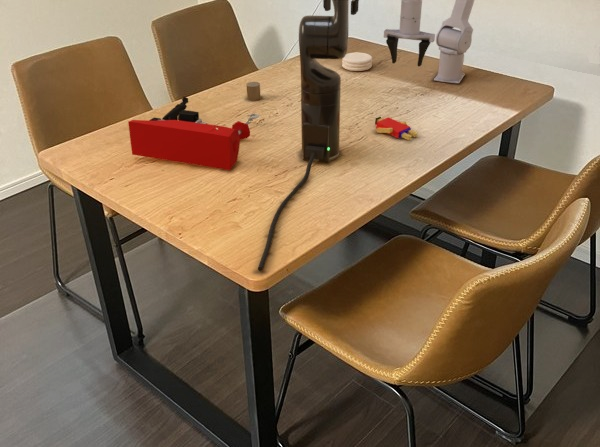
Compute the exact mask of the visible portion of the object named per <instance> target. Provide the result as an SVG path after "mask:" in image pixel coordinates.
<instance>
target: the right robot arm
mask: <svg viewBox="0 0 600 447" xmlns="http://www.w3.org/2000/svg"><path fill="white" fill-rule="evenodd" d="M400 1H401V2H400V15H399V17H400V19H399V29H390V28H389V29H388V28H385V29H384V30H383V38H386V40H385V43H386V45H387V47H388V50H389V53H390V56H391V57H390V58H391V62H392V64H396V63H397V60H398V44H399V40H400V39H401V40H412V41H419V43H418V58H417V67H421V66H422V64H423V60H424V57H425V55H426V53H427V50H428V49H429V47H430V45H431V44H432V43H434V42H435V43H436V45H437V46H438V50H439V60H438V69H437V74H436V76H435V77H434V78H433V81H434V82H441V83H449V84H457V85H458V84H460V83H461V81H462V80H463V79H464V77H465V75H466V73H464V72H463V68H464V61H465V53H467V52H468V50H469V48H471V45H472V36H473V32H474V28H473V27H472V24H470V22H469V19H470V16H471V12H472V10H473V6H474V3H475V0H454V5H453V7H452V11H451V15H450V17H448V18H446V19H445V20H443V21H442V23H441V26H440V27H439V29H438V31H437V33H436V34H435V33H431V32H426V31H421V18H422V7H423V0H400Z"/></svg>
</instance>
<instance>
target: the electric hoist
mask: <svg viewBox="0 0 600 447" xmlns="http://www.w3.org/2000/svg"><path fill="white" fill-rule="evenodd" d="M179 100H180V101H179V102H180V103H177V104H176V105H175V106H174V107H173V108H172V109H171V110H169V111H168V112H167V113H166V114H165V115H164V116H162V118H161V117H155V116H154V117H152V118H151V119H149V120H147V119H146V120H145V119H144V120H142V119H131V120H129V121H128V123H127V125H128V131H129V139H130V147H131V148H130V149H131V155H132V156H139V157H145V158H152V159H157V160H164V161H169V162H176V163H183V164H187V165H193V166H201V167H206V168H212V169H219V170H225V171H231V170H232V169H233V168H234V166H235V165H236V163H238V158H239V152H240V144H241V140H245V139H248V138H249V137H250V136H251V130H250V126H249V124H251V122H253V121H254V120H255V119H258V118H259V117H260V114H257V113H255V112H254V113H250V114H248V115H247V117H249V118H247V121H246V122H242V121H236V122H235V123H233V124H232V125H231V127H228V126H222V125H216V124H209V123H207V122H204V121H203V119H202V118H200V116H199V115H200V113H199V111H194V110H187V108H188V106H187V104H188V103H189V98H188V97H187V96H183V97H182V98H180V99H179Z"/></svg>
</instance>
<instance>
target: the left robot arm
mask: <svg viewBox="0 0 600 447" xmlns="http://www.w3.org/2000/svg"><path fill="white" fill-rule="evenodd" d="M322 1H323V2H322V3H323V4H322V7H323V9H324V11H325V12H329V11H330V10H332V6H333V9H334V10H333V11H334V12H333V13H334V14H333V15H305V16H302V18H301V19H300V22H299V25H298V48H299V62H300V64H299V65H300V95H301V96H300V116H301V117H300V118H301V120H300V121H301V124H300V125H301V130H300V131H301V153H300V154H301V156H302V158H303V159H302V160H303V161H308V162H307V165H306V168H305V169H306V170H305V173H304V176H303V178H302V179H301V180H300V181H299V183H298V184H296V186H295V187H294V188H293V190H291V191H290V193H289V194H288V195H287V196H286V197H285V198H284V200H282V202H281V203H280V205H279V206H278V208H277V210H276V211H275V213H274V216H273V218H272V220H271V224H270V226H269V230H268V235H267V239H266V243H265V246H264V249H263V252H262V255H261V258H260V261H259V264H258V266H257V270H258V271H259V272H262V271H263V270H264V267H265V264H266V262H267V259H268V256H269V254H270V250H271V246H272V242H273V237H274V233H275V229H276V227H277V223H278V220H279V218H280V216H281V214H282V212H283V210H284V208H285V207H286V206H287V204H288V203H289V202H290V201H291V199H292V198H293V197H294V196H295V195H296V194H297V192H298V191H299V190H300V189H301V188H302V187H303V186H304V185H305V184H306V182H307V181H308V179H309V176H310V174H311V170H312V165H313V163H314V162H315V163H324V164H328V163H330V162H332V161H334V160H337V159H338V158H339V157H340V154H341V153H340V152H341V150H340V132H341V131H340V130H341V125H340V124H341V89H342V88H341V87H342V79H341V75H340V73H339V72H337V71H335V70H333V69H331V68H328V67H327V66H324V65H323V64H321V62H319V61H318V60H342V59H343V58H344V57H345V55H346V54H347V53H348V48H349V47H348V46H349V28H350V26H349V24H350V23H349V22H350V21H349V19H350V18H349V17H350V15H351V16H354V15H357V13H358V12H359V2H360V0H351V1H350V0H322ZM349 1H350V2H349ZM349 4H350V5H349ZM349 6H350V8H349ZM349 9H350V13H349ZM349 14H350V15H349Z"/></svg>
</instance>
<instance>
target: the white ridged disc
mask: <svg viewBox="0 0 600 447" xmlns="http://www.w3.org/2000/svg"><path fill="white" fill-rule="evenodd" d="M341 60H342V61H341V66H342V68H343V69H345V70H347V71H349V72H350V71H351V72H363V71H368V70H370V69H371V68H372V67H373V56H372V55H371V54H369V53H365V52H347V53H346V55H345V57H344V58H343V59H341Z"/></svg>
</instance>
